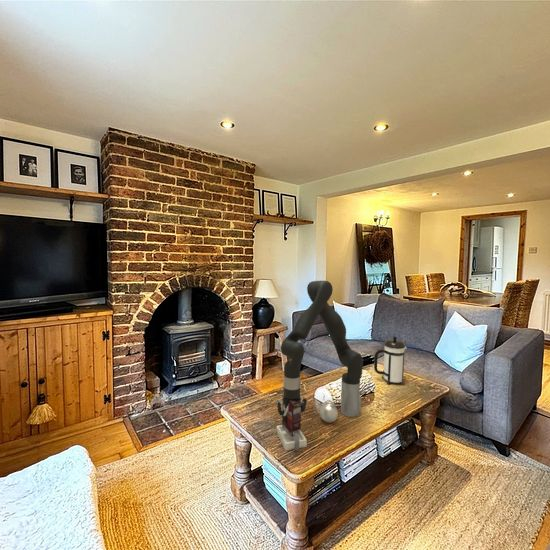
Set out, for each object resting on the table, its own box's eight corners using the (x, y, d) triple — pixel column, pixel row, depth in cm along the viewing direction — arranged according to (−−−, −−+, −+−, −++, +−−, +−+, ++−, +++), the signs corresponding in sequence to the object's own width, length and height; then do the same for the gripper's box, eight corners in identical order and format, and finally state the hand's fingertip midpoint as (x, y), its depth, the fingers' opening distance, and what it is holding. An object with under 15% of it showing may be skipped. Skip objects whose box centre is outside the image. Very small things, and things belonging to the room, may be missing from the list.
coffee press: (387, 374, 208) (388, 331, 205) (409, 382, 196) (412, 337, 193) (372, 381, 197) (374, 336, 194) (396, 390, 185) (398, 342, 182)
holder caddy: (294, 426, 146) (294, 412, 145) (308, 449, 129) (308, 433, 128) (275, 429, 143) (275, 415, 142) (286, 453, 126) (287, 437, 126)
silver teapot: (340, 418, 153) (340, 399, 152) (335, 428, 145) (335, 408, 144) (322, 413, 157) (323, 395, 156) (317, 423, 149) (317, 403, 148)
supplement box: (281, 428, 138) (281, 395, 137) (290, 425, 141) (290, 392, 139) (291, 438, 131) (292, 403, 130) (300, 435, 133) (301, 401, 132)
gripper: (303, 380, 139) (303, 415, 141) (274, 383, 136) (273, 419, 137) (310, 387, 132) (309, 424, 134) (278, 391, 128) (278, 428, 130)
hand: (291, 421), depth 135 cm, fingers closed on supplement box, 5 cm apart
